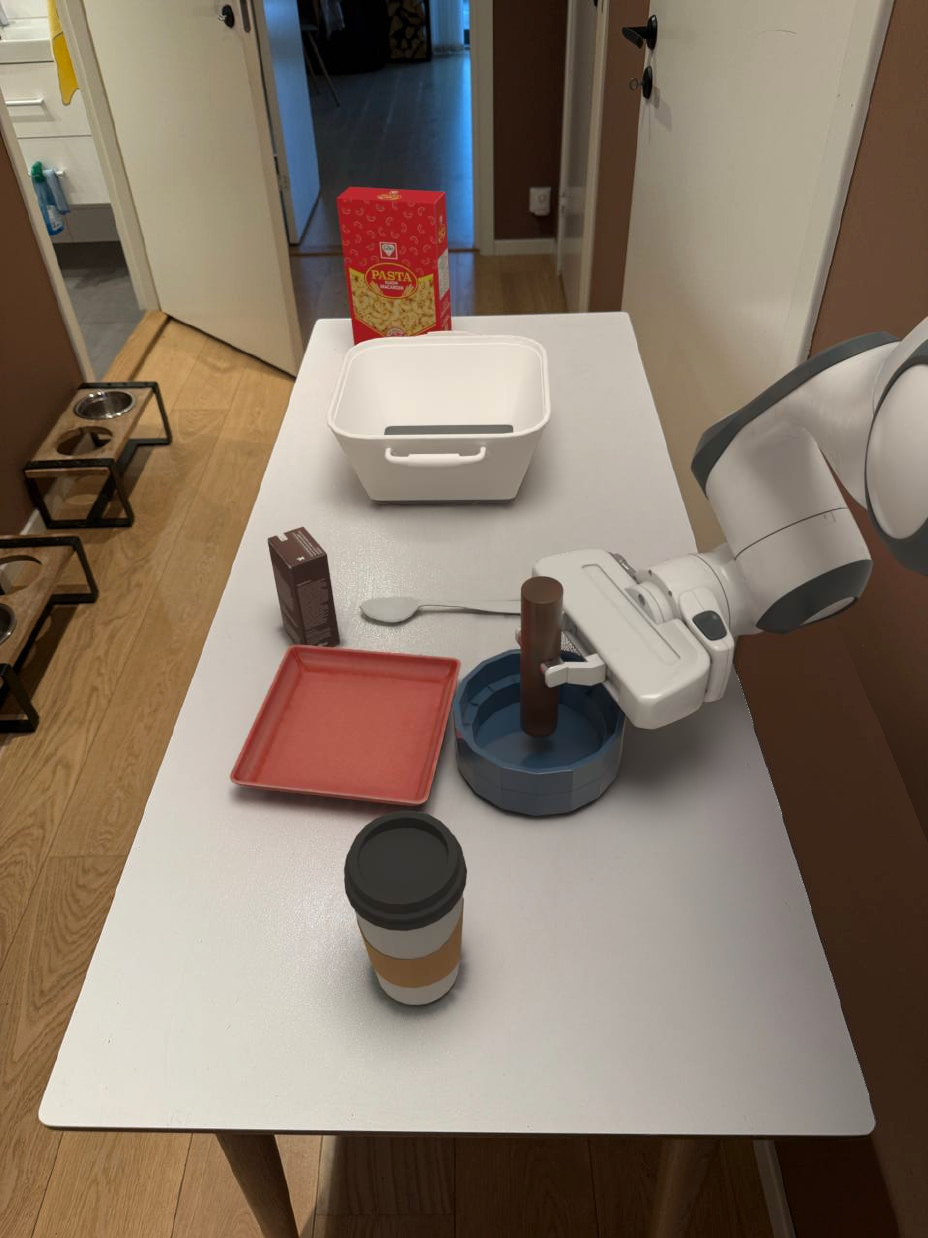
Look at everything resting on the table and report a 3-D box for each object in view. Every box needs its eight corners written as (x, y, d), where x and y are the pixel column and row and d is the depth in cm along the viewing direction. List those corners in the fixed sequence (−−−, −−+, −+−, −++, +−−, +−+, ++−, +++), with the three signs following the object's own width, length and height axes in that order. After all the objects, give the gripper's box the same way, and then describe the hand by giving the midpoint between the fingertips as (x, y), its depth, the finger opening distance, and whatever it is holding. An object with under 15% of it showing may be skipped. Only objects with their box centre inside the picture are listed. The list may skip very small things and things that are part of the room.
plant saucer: (233, 803, 83) (225, 780, 81) (293, 664, 97) (288, 641, 94) (429, 827, 81) (426, 804, 78) (464, 681, 94) (462, 657, 92)
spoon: (362, 603, 104) (360, 592, 103) (545, 595, 103) (546, 584, 102) (359, 628, 100) (358, 617, 99) (549, 620, 100) (549, 609, 99)
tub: (550, 545, 110) (553, 451, 102) (328, 546, 112) (313, 454, 103) (543, 406, 136) (545, 322, 127) (362, 408, 137) (352, 326, 129)
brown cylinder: (564, 721, 84) (572, 586, 74) (543, 744, 82) (547, 608, 72) (534, 704, 86) (537, 570, 75) (512, 726, 84) (512, 592, 73)
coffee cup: (380, 911, 75) (360, 796, 65) (481, 928, 73) (477, 813, 63) (350, 1010, 69) (323, 900, 59) (460, 1032, 67) (451, 922, 57)
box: (343, 642, 99) (328, 553, 91) (305, 658, 97) (286, 569, 89) (319, 612, 103) (303, 523, 95) (282, 627, 101) (262, 538, 93)
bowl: (650, 740, 87) (657, 693, 83) (559, 850, 78) (562, 802, 74) (519, 673, 94) (520, 625, 90) (423, 766, 86) (418, 718, 82)
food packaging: (356, 360, 149) (336, 198, 133) (367, 346, 153) (349, 186, 136) (443, 369, 146) (434, 203, 129) (452, 354, 150) (445, 191, 133)
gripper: (614, 520, 87) (480, 559, 83) (746, 657, 73) (591, 712, 69) (609, 572, 91) (481, 612, 87) (733, 711, 77) (587, 766, 73)
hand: (531, 657), depth 78 cm, fingers closed on brown cylinder, 3 cm apart
